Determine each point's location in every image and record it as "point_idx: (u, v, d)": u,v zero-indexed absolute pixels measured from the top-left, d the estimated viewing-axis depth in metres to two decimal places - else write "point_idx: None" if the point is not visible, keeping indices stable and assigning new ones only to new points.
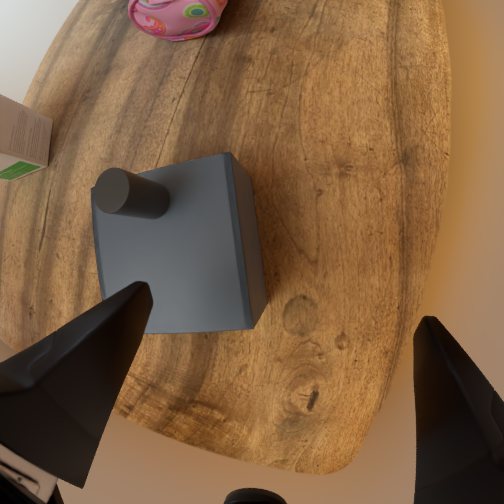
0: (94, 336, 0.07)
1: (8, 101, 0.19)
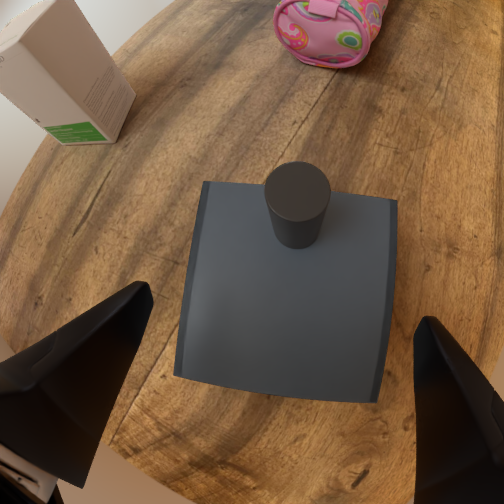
0: (94, 336, 0.07)
1: (102, 48, 0.18)
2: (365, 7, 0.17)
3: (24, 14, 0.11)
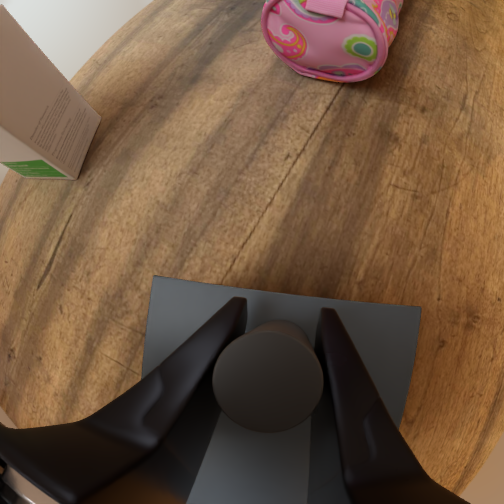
0: (212, 367, 0.06)
1: (51, 68, 0.14)
2: (380, 4, 0.13)
3: None
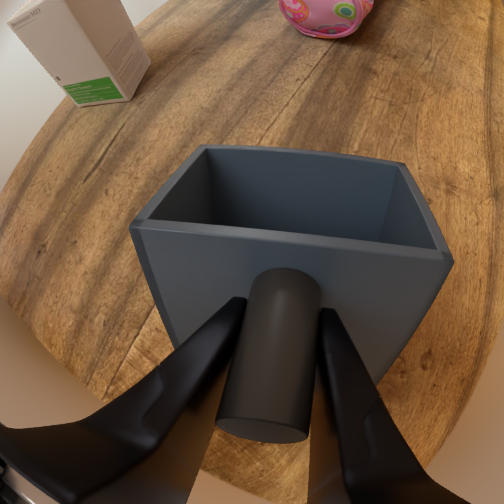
0: (212, 367, 0.06)
1: (125, 14, 0.19)
2: None
3: None
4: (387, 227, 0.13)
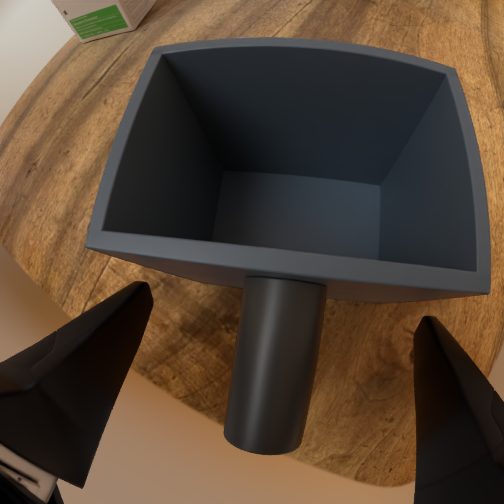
0: (94, 336, 0.07)
1: None
2: None
3: None
4: (421, 139, 0.09)
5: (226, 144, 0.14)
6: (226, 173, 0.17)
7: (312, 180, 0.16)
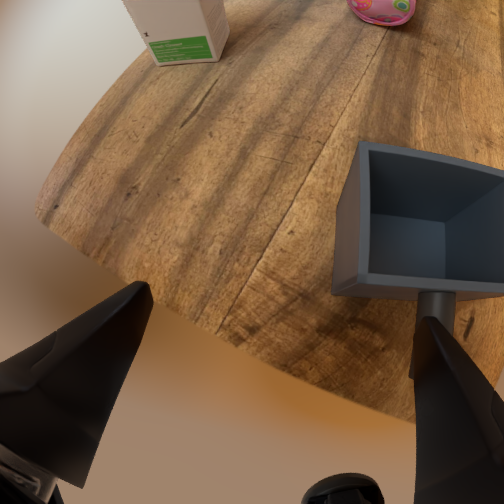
0: (94, 336, 0.07)
1: None
2: None
3: None
4: (485, 207, 0.14)
5: None
6: None
7: (403, 219, 0.21)
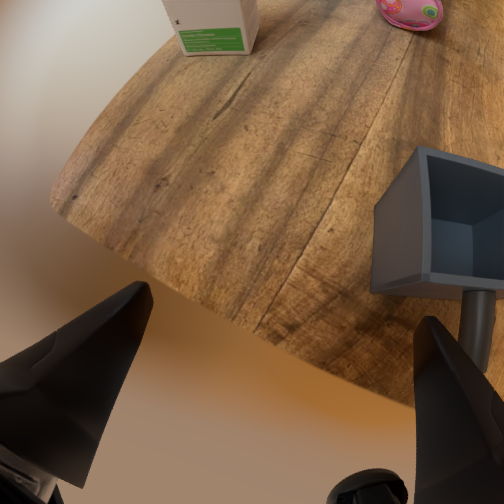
0: (94, 336, 0.07)
1: None
2: None
3: None
4: None
5: None
6: None
7: (436, 221, 0.21)
